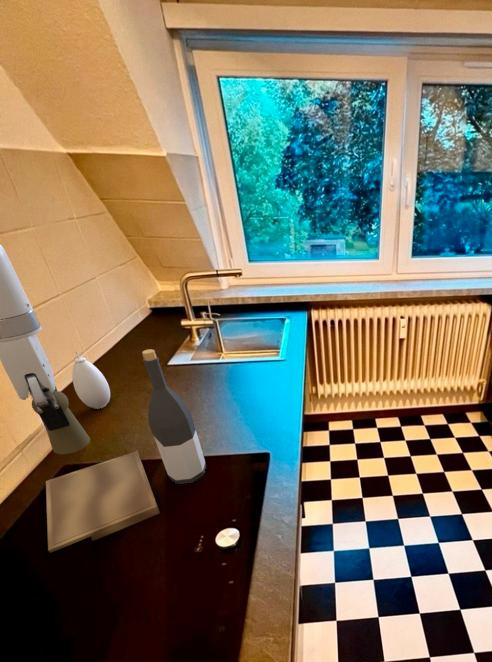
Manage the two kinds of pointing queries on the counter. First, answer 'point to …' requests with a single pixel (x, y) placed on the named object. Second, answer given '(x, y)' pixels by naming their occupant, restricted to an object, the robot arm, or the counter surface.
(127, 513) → the cutting board
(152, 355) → the wine bottle
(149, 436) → the counter surface
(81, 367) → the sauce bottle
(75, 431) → the pepper mill
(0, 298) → the robot arm
